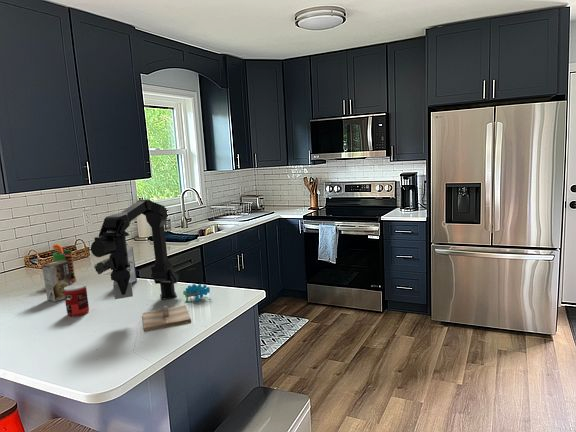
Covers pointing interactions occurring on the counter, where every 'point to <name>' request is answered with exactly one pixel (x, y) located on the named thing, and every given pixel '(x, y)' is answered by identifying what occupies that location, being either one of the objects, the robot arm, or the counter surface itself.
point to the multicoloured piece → (64, 259)
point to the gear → (196, 291)
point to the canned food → (76, 299)
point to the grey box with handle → (118, 293)
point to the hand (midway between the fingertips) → (123, 292)
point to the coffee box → (56, 279)
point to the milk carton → (131, 264)
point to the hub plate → (165, 317)
